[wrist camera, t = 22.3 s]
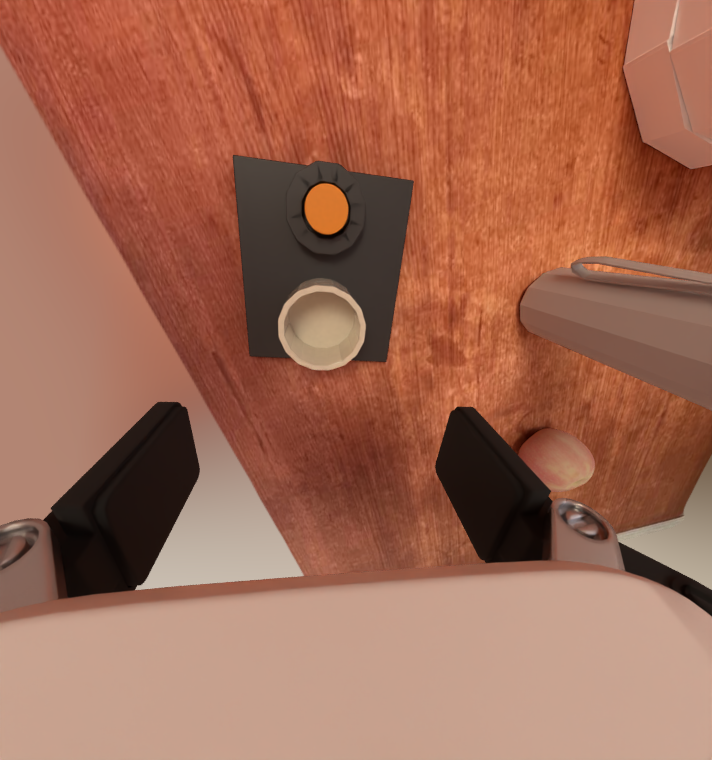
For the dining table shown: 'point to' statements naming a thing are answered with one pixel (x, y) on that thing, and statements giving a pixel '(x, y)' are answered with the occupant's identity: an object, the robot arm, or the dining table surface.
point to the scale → (318, 245)
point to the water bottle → (630, 321)
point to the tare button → (326, 208)
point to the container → (672, 77)
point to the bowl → (321, 325)
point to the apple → (558, 459)
